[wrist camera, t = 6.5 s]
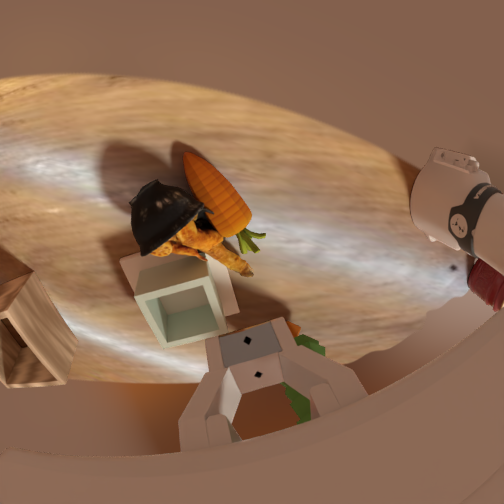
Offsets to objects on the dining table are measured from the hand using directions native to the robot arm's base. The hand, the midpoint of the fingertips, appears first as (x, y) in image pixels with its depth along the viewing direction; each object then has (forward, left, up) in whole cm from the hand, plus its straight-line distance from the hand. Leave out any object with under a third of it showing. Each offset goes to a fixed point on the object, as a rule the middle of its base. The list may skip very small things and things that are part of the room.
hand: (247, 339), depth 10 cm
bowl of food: (+6, -2, -23) cm, 24 cm away
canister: (-67, +38, -27) cm, 82 cm away
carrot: (+1, -4, -26) cm, 26 cm away
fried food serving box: (+38, +12, -27) cm, 48 cm away
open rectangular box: (+7, +14, -27) cm, 31 cm away
